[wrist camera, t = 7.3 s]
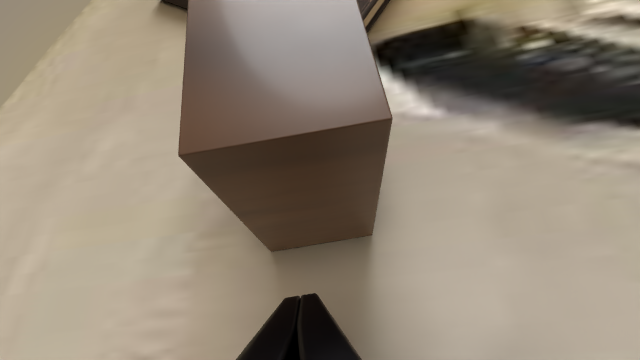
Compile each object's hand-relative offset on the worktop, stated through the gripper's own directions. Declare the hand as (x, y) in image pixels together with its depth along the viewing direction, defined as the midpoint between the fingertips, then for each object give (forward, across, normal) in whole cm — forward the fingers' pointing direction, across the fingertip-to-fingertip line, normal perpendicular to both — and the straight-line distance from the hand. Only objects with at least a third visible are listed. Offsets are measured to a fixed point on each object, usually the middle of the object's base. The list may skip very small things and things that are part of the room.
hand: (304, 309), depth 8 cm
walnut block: (+15, 0, +2) cm, 15 cm away
